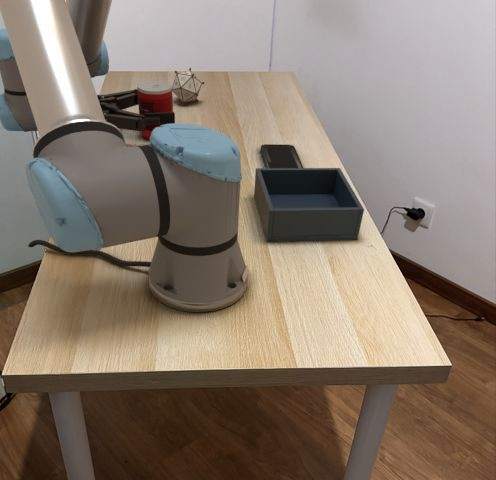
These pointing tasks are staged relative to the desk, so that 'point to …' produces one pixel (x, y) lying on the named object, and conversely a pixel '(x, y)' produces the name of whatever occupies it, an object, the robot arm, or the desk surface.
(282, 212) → the bin
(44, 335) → the desk surface
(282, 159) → the phone
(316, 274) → the desk surface
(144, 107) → the canned food
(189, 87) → the game die
